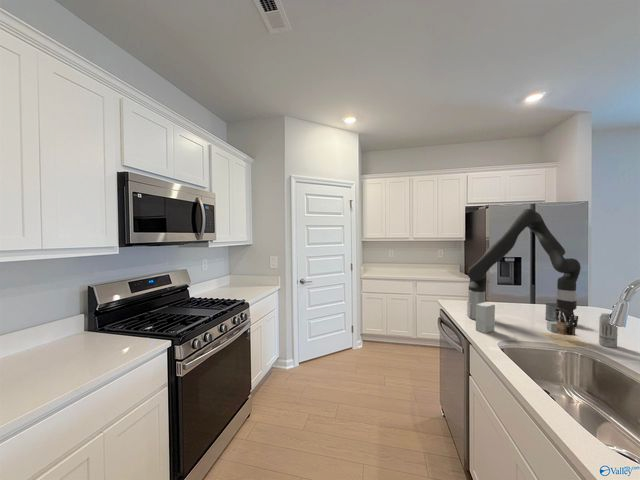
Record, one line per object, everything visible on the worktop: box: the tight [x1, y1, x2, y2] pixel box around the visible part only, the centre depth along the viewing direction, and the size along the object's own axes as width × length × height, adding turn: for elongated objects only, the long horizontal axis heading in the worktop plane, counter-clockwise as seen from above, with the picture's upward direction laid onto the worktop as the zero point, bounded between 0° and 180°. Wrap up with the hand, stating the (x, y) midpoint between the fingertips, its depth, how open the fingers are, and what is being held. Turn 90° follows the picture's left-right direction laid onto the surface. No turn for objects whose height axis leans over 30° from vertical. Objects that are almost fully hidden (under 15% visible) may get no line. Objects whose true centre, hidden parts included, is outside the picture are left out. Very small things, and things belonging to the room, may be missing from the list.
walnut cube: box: [556, 322, 576, 336], centre depth 139 cm, size 5×5×5 cm
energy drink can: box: [598, 312, 618, 349], centre depth 132 cm, size 6×6×15 cm
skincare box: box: [475, 301, 496, 334], centre depth 153 cm, size 8×6×15 cm
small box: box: [545, 302, 559, 322], centre depth 166 cm, size 11×6×10 cm, turn 179°
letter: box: [539, 332, 596, 350], centre depth 139 cm, size 14×18×1 cm
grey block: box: [546, 320, 560, 334], centre depth 151 cm, size 7×4×5 cm, turn 77°
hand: (565, 332), depth 139 cm, fingers closed on walnut cube, 5 cm apart
